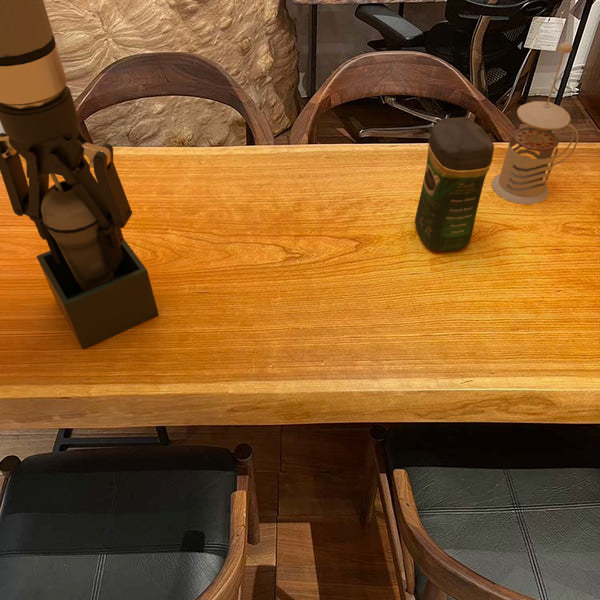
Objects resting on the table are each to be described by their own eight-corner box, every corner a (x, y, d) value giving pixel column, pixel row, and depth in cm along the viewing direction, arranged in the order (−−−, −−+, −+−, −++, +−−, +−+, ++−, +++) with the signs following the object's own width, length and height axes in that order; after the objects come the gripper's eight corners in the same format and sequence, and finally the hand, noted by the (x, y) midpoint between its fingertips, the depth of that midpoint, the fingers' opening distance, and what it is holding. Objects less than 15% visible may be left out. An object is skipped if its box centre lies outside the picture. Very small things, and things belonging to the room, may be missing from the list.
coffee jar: (476, 251, 90) (506, 145, 77) (426, 257, 89) (448, 150, 76) (454, 213, 97) (479, 109, 84) (408, 218, 96) (425, 113, 83)
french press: (484, 172, 105) (522, 29, 87) (548, 170, 106) (599, 28, 88) (500, 205, 98) (544, 57, 80) (568, 203, 99) (627, 56, 81)
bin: (55, 300, 83) (36, 255, 77) (127, 270, 88) (114, 225, 81) (82, 350, 77) (63, 305, 71) (159, 315, 81) (147, 270, 75)
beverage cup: (118, 302, 76) (75, 171, 62) (62, 301, 76) (7, 170, 62) (130, 264, 81) (94, 135, 67) (78, 263, 81) (30, 134, 67)
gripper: (136, 82, 61) (171, 250, 77) (-37, 67, 63) (33, 233, 80) (106, 118, 55) (151, 290, 72) (-81, 100, 58) (4, 270, 74)
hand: (89, 260), depth 76 cm, fingers closed on beverage cup, 7 cm apart
